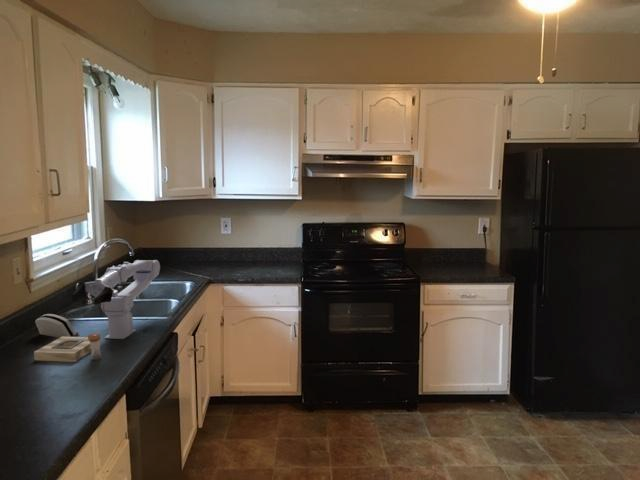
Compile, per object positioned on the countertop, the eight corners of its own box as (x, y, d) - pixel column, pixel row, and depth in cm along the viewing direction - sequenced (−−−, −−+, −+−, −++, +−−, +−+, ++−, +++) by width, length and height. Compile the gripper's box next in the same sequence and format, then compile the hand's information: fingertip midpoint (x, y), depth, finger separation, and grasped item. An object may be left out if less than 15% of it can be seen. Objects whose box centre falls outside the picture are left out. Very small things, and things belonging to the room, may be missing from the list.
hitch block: (63, 344, 184) (62, 335, 183) (100, 345, 182) (99, 336, 181) (34, 360, 169) (33, 351, 168) (75, 361, 167) (74, 352, 166)
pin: (94, 355, 172) (92, 333, 170) (104, 356, 171) (102, 333, 170) (87, 360, 168) (85, 337, 167) (98, 360, 167) (96, 337, 166)
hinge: (80, 335, 193) (70, 314, 188) (70, 343, 189) (60, 322, 185) (51, 329, 200) (41, 309, 195) (41, 337, 196) (30, 317, 192)
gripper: (86, 270, 180) (64, 285, 167) (124, 278, 180) (105, 293, 167) (85, 287, 183) (63, 303, 170) (123, 295, 182) (104, 312, 169)
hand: (84, 299), depth 168 cm, fingers open, 7 cm apart
